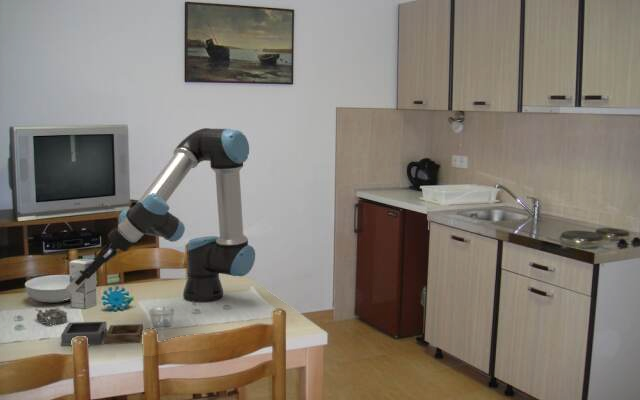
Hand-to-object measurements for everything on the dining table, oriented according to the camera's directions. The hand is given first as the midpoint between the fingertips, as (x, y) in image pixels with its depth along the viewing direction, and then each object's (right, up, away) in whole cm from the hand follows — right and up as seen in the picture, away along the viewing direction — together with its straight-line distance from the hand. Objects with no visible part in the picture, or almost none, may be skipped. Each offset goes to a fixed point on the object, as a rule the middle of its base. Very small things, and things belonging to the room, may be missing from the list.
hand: (71, 287), depth 202 cm
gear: (+4, -12, +34) cm, 37 cm away
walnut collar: (+15, -16, +5) cm, 23 cm away
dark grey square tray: (+3, -16, +3) cm, 17 cm away
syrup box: (+3, -6, +1) cm, 7 cm away
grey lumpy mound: (-14, -14, +19) cm, 28 cm away
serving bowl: (-22, -11, +44) cm, 50 cm away
